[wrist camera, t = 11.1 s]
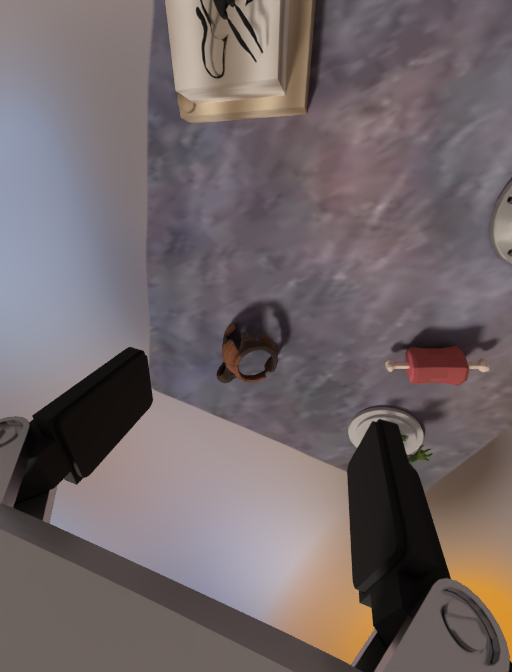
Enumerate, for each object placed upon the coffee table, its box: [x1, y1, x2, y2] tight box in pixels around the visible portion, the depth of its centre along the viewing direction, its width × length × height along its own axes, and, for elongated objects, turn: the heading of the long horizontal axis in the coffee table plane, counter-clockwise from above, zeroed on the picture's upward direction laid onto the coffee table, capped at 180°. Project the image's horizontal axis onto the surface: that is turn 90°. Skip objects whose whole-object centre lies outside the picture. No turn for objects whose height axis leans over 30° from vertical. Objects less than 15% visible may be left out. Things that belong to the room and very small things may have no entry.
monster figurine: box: [348, 407, 432, 468], centre depth 40 cm, size 12×12×10 cm
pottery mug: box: [217, 323, 278, 383], centre depth 42 cm, size 12×10×8 cm
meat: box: [385, 346, 490, 385], centre depth 34 cm, size 12×5×5 cm, turn 101°
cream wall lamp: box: [165, 0, 316, 123], centre depth 23 cm, size 14×12×7 cm
